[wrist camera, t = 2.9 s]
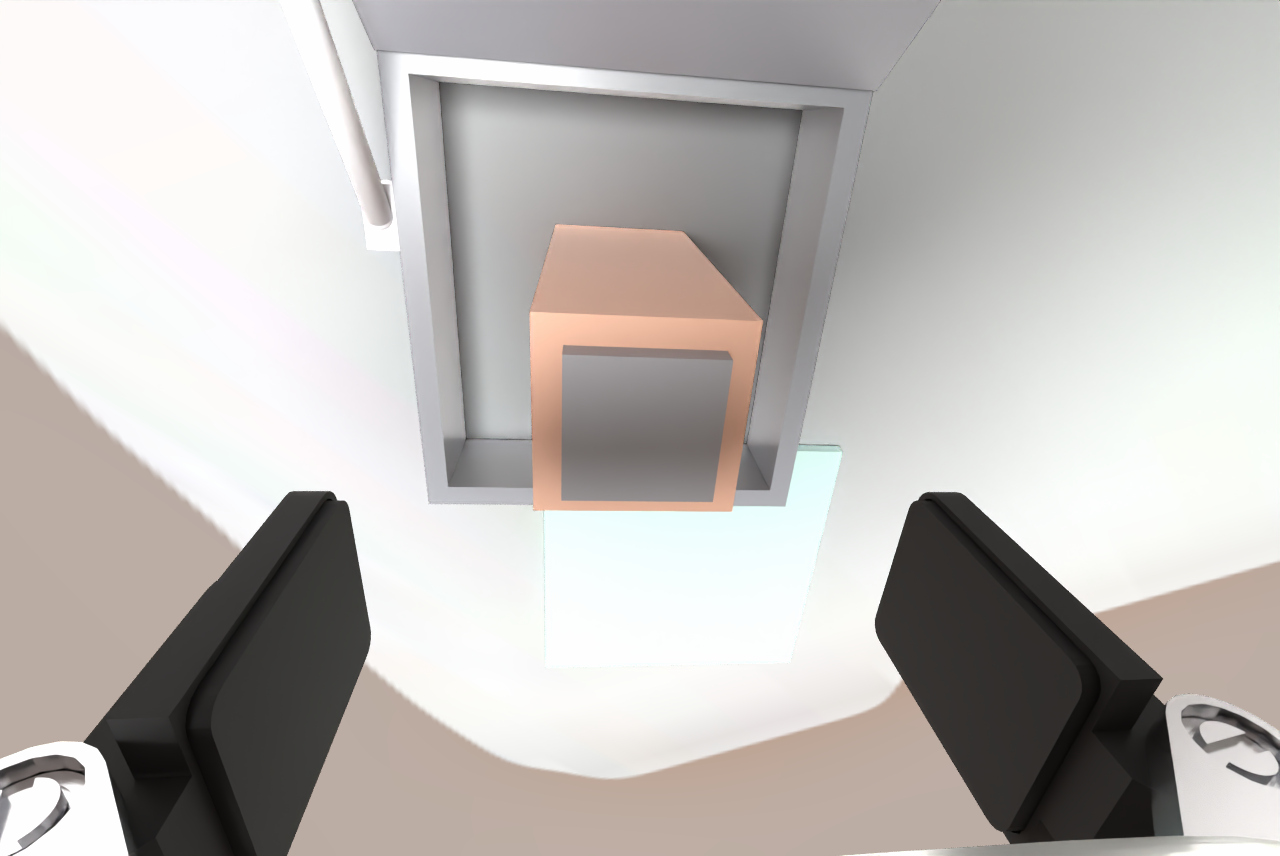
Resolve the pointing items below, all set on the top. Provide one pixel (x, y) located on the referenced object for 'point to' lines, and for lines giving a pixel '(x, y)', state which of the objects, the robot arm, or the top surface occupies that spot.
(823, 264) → the case
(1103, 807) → the robot arm
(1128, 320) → the top surface
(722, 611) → the mat
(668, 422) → the block
